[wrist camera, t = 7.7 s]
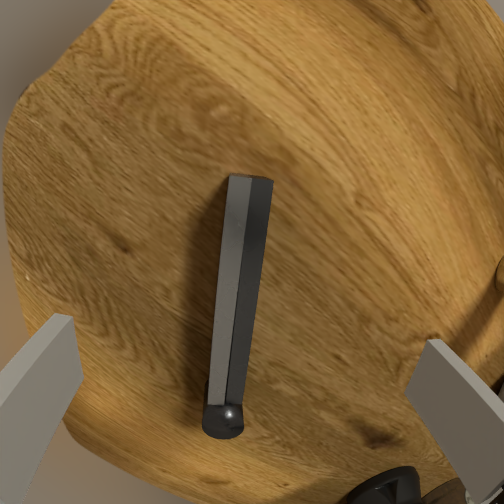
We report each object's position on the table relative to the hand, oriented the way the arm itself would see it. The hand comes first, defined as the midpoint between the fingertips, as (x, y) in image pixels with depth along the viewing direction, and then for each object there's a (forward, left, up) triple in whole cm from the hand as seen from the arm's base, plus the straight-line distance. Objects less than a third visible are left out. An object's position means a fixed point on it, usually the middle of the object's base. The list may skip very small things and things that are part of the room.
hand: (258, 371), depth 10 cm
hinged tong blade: (-4, -1, -18) cm, 18 cm away
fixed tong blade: (-6, -2, -18) cm, 19 cm away
